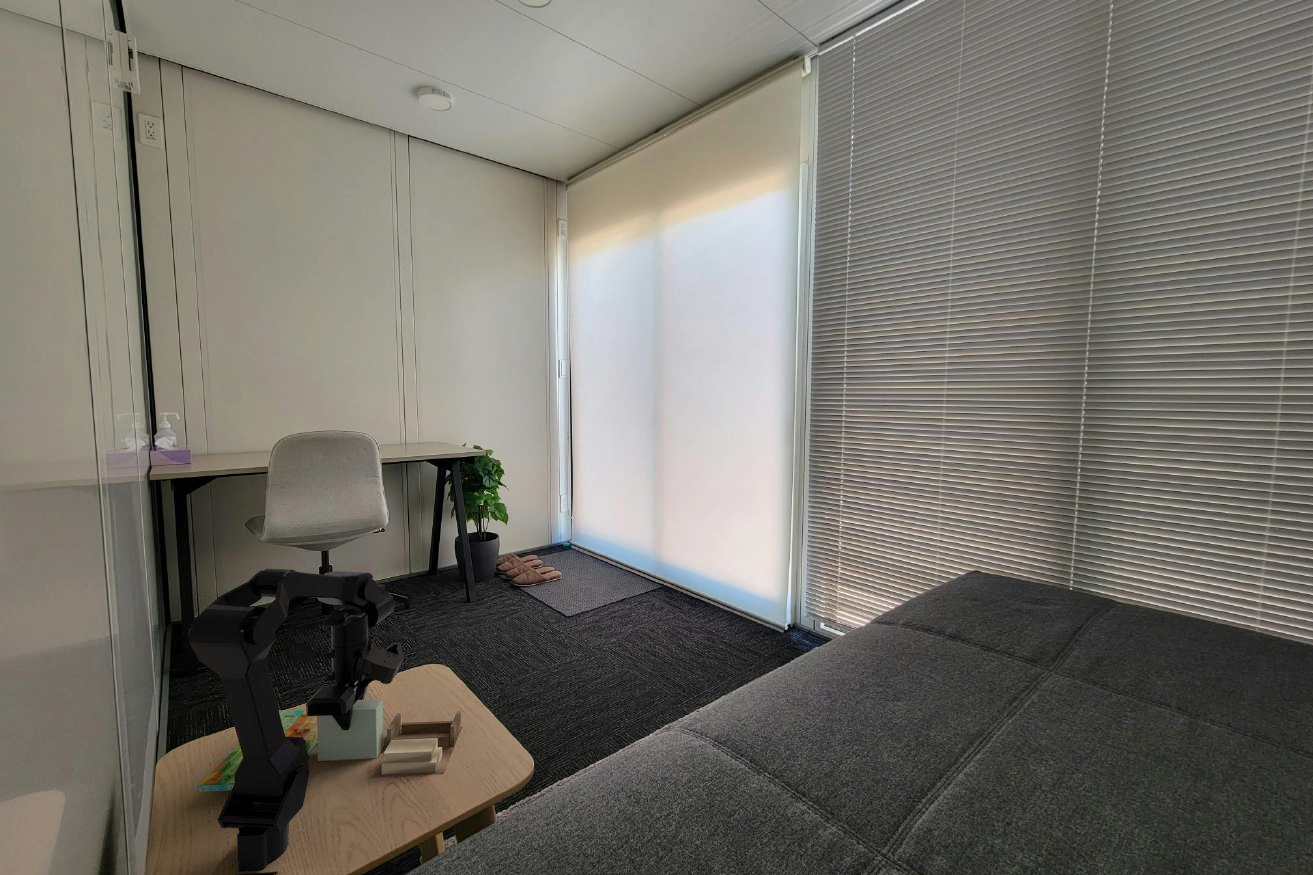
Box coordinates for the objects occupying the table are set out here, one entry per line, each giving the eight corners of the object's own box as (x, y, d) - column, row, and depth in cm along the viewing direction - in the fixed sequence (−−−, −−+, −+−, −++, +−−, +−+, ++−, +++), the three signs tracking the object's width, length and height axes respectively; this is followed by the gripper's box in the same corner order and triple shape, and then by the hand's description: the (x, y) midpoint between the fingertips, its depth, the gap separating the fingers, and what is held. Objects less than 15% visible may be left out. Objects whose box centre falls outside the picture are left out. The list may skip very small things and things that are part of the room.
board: (376, 760, 95) (376, 708, 94) (318, 763, 94) (316, 711, 93) (383, 749, 98) (382, 699, 97) (326, 751, 97) (325, 700, 96)
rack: (443, 778, 92) (443, 751, 92) (371, 782, 91) (371, 755, 90) (462, 731, 105) (462, 707, 104) (399, 733, 103) (398, 709, 103)
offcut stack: (435, 771, 92) (435, 752, 92) (381, 774, 91) (381, 755, 91) (442, 756, 96) (442, 737, 96) (390, 758, 95) (390, 739, 95)
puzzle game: (337, 704, 105) (275, 776, 85) (337, 726, 106) (276, 803, 86) (275, 705, 104) (197, 779, 84) (275, 728, 104) (198, 807, 84)
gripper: (376, 665, 86) (376, 755, 87) (414, 617, 105) (414, 692, 106) (303, 667, 85) (305, 758, 86) (355, 618, 103) (356, 694, 105)
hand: (351, 722), depth 96 cm, fingers open, 4 cm apart
